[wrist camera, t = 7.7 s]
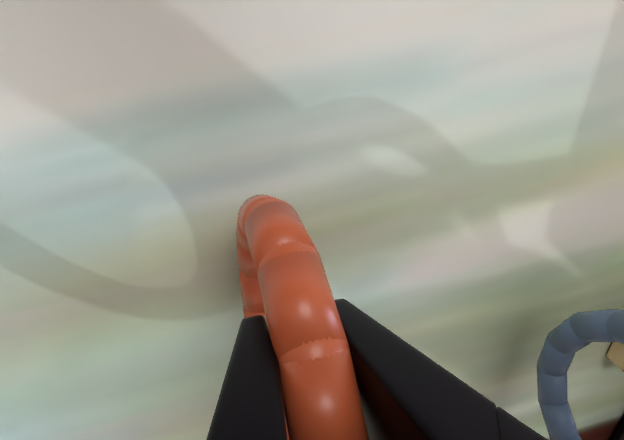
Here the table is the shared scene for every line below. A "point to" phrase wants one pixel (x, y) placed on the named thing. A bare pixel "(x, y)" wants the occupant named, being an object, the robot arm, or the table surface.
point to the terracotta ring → (298, 322)
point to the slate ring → (559, 357)
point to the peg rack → (617, 354)
